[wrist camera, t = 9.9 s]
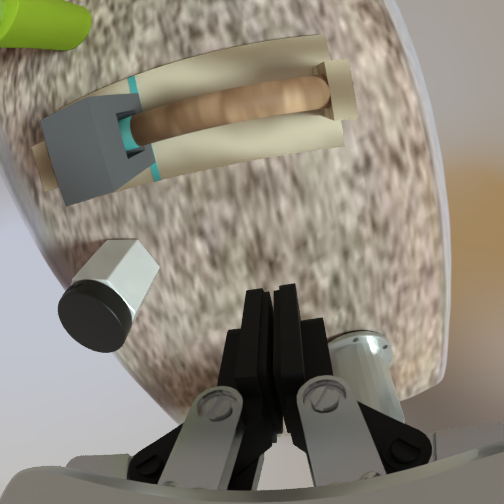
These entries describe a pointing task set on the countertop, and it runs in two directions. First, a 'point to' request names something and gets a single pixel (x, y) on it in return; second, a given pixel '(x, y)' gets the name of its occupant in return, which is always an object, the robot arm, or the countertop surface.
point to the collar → (94, 146)
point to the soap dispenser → (43, 24)
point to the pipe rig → (232, 108)
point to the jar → (108, 295)
